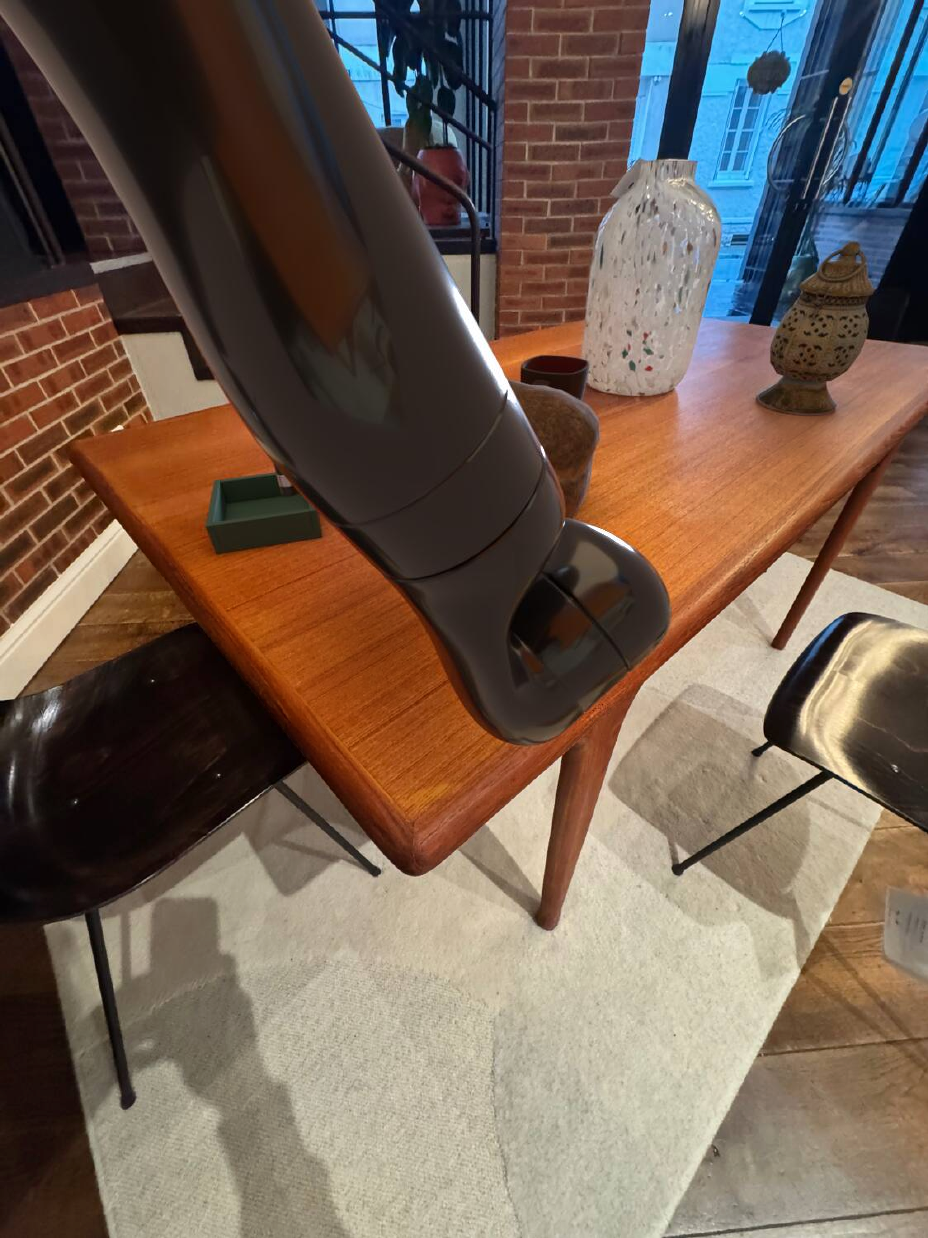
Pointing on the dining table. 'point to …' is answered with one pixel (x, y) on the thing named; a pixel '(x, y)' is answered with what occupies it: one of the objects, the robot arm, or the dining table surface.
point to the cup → (557, 373)
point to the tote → (257, 514)
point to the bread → (562, 436)
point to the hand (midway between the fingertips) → (325, 422)
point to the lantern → (820, 335)
